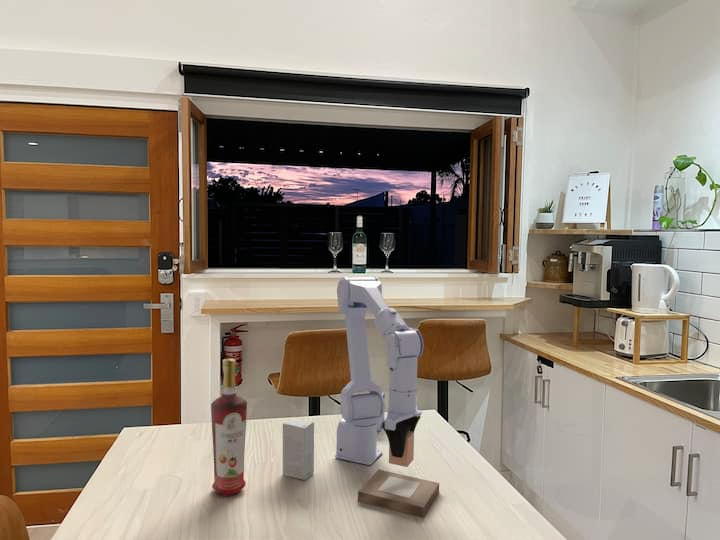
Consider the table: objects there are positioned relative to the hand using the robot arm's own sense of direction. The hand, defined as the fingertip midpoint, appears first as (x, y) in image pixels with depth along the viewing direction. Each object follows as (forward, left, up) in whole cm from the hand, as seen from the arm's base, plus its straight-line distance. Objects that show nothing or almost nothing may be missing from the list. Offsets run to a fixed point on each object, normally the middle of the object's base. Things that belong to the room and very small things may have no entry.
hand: (401, 452), depth 108 cm
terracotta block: (0, 0, -2) cm, 2 cm away
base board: (0, 0, -9) cm, 9 cm away
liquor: (-33, -14, -10) cm, 37 cm away
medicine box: (-20, +34, -10) cm, 40 cm away
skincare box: (-24, -1, -10) cm, 26 cm away
